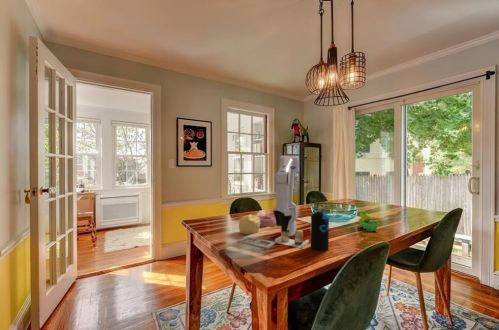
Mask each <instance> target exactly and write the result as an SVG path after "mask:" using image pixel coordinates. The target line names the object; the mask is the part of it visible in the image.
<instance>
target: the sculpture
mask: <svg viewBox="0 0 499 330" xmlns="http://www.w3.org/2000/svg"><path fill="white" fill-rule="evenodd" d="M260 228H261V227H260V218H259V217H257V215H254V214H251V213H250V214H246V215H243V216H242V217H241V218H240V219H239V221H238V229H239V232H240V233H241V234H243V235H247V236H250V235H252V234H256V233H259V231H260Z"/></svg>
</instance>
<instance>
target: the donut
mask: <svg viewBox="0 0 499 330" xmlns="http://www.w3.org/2000/svg"><path fill="white" fill-rule="evenodd" d="M256 216H257V215H256ZM257 217H259V218H260V227H259V228H270V227H275V225H277V224H276V219H275V216H270V215H258V216H257Z"/></svg>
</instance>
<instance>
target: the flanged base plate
mask: <svg viewBox="0 0 499 330" xmlns="http://www.w3.org/2000/svg"><path fill="white" fill-rule="evenodd" d="M281 237H282V235H280V236H278V237H277V238H275V239H274V242H276V244H278V245H279V244H280V245H286V246H289V247H290V246H291V247H295V248H300V249H304V248H305V247H306V246H308V244H310V240H309V239H306V240H304V241H303V243H302V244H301V245H295V239H291V238H289V242H282V241H281Z"/></svg>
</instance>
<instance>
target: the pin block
mask: <svg viewBox="0 0 499 330" xmlns="http://www.w3.org/2000/svg"><path fill="white" fill-rule="evenodd" d="M247 240H252V241H253V242H250V241H247ZM237 242H238V243H240V244H245V245H249V246H254V247H259V248H263V249H269V248H271V247H272V246H274V245H276V244H277V243H276V242H275V241H271V240H266V239H262V238H261V239H260V238H256V237H252V236H249V235H247V236H246V237H244V238H241V239H238V240H237ZM259 243H260V244H259ZM261 243H266V245H263V244H261Z"/></svg>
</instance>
